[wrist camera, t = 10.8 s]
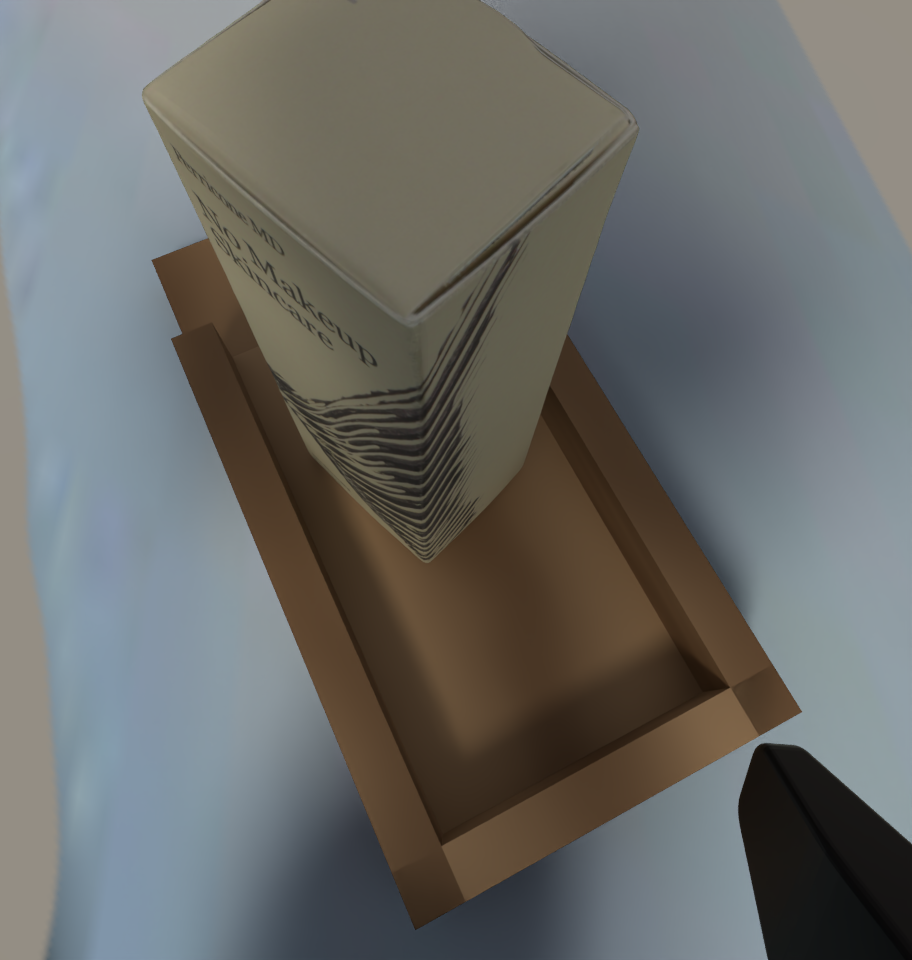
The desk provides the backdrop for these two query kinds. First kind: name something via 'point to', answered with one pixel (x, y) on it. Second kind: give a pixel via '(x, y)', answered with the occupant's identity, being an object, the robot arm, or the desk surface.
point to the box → (399, 231)
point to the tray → (486, 622)
